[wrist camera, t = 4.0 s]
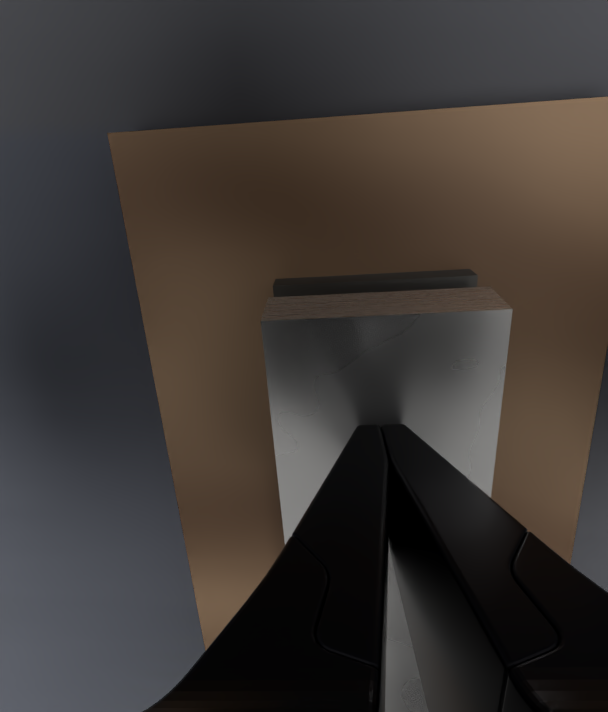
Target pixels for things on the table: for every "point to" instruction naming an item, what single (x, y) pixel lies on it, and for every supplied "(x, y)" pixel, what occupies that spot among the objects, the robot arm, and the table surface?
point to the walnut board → (364, 291)
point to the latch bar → (384, 401)
